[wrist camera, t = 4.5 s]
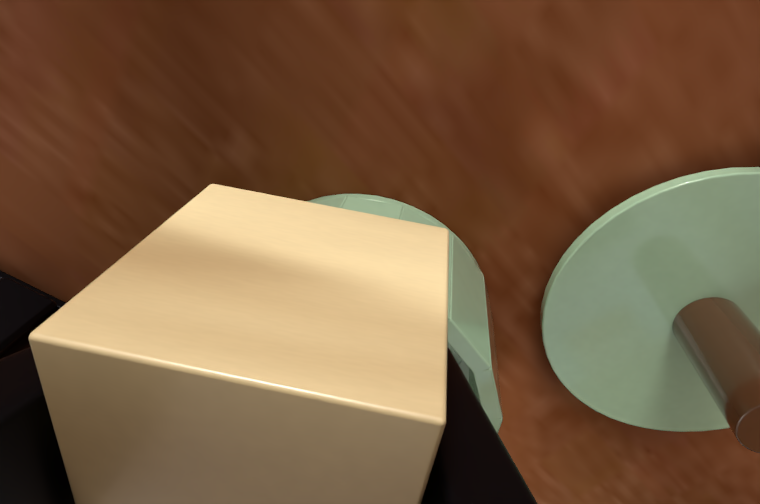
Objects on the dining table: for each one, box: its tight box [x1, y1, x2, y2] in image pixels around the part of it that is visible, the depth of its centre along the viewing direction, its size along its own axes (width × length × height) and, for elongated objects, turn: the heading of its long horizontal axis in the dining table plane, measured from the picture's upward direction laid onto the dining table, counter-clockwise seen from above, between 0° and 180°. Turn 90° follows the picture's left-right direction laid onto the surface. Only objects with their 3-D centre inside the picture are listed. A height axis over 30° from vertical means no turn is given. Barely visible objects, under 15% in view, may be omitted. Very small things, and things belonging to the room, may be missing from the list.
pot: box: [306, 194, 503, 434], centre depth 19 cm, size 11×11×6 cm
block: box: [29, 184, 449, 504], centre depth 8 cm, size 4×4×4 cm
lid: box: [540, 167, 760, 453], centre depth 17 cm, size 12×12×6 cm
